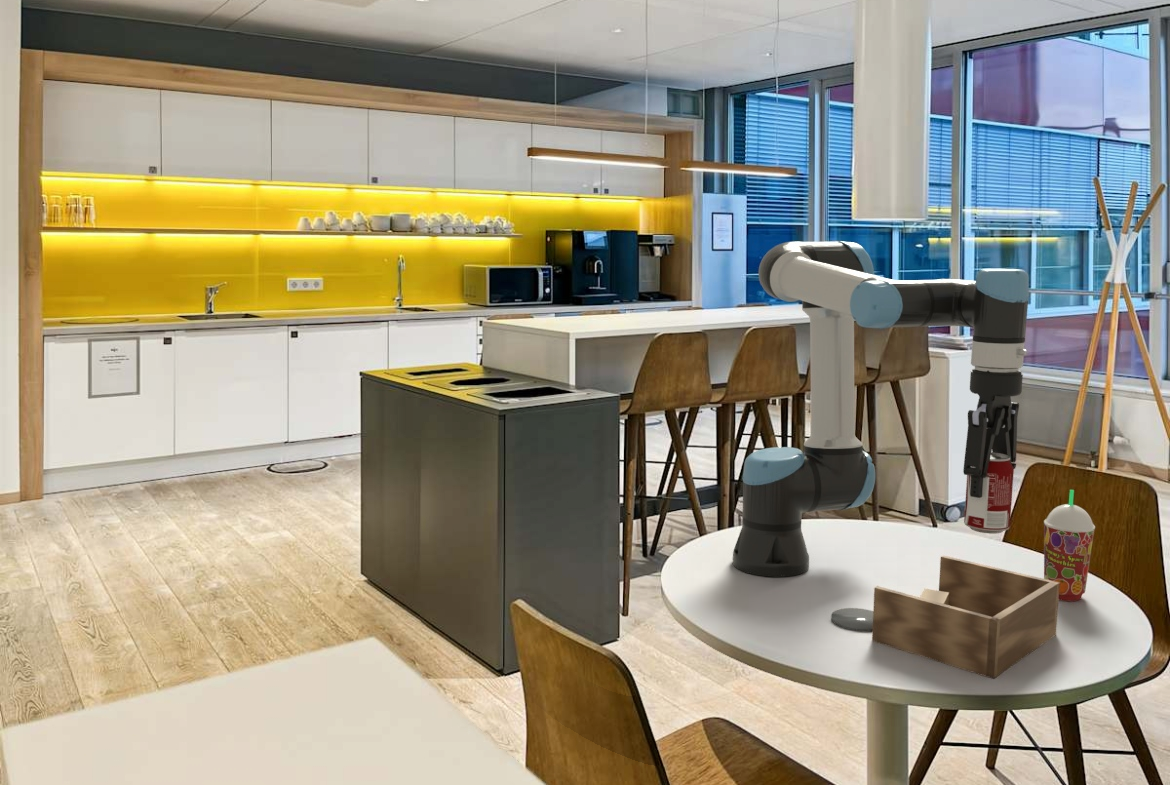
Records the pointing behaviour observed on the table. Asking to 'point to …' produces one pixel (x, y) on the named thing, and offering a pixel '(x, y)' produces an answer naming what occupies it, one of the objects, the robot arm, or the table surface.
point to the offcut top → (936, 596)
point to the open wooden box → (970, 617)
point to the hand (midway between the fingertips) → (987, 511)
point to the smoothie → (1068, 549)
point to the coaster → (853, 619)
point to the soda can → (994, 497)
